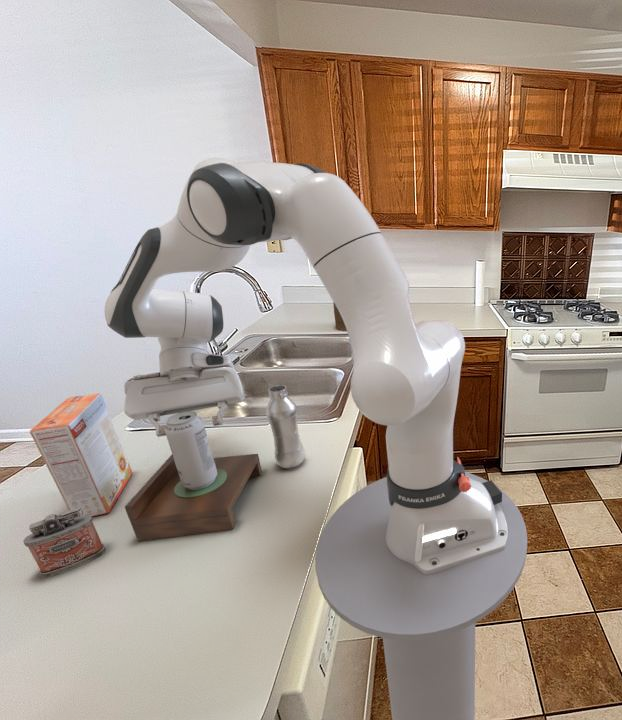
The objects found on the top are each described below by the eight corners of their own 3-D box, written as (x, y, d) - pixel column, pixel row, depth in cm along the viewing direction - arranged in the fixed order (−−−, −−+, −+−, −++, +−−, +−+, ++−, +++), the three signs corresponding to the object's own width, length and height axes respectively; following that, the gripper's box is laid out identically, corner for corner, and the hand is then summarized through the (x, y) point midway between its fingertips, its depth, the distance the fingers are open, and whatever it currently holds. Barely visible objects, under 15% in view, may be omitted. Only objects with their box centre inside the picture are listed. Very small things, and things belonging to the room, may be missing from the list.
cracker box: (100, 479, 89) (66, 396, 81) (134, 473, 91) (103, 391, 83) (70, 523, 77) (26, 429, 69) (109, 514, 79) (71, 423, 71)
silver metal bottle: (296, 452, 99) (282, 379, 92) (312, 462, 96) (299, 387, 88) (271, 465, 94) (254, 389, 87) (286, 475, 91) (270, 397, 83)
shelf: (262, 471, 92) (255, 442, 89) (233, 529, 76) (223, 495, 73) (185, 479, 89) (176, 449, 86) (137, 541, 73) (124, 507, 70)
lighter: (40, 581, 65) (14, 534, 61) (42, 568, 67) (18, 522, 64) (106, 555, 70) (85, 510, 66) (106, 543, 72) (86, 499, 69)
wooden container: (369, 328, 200) (365, 284, 192) (339, 332, 193) (333, 287, 185) (362, 321, 212) (357, 280, 204) (333, 324, 205) (327, 282, 197)
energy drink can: (188, 475, 82) (169, 412, 77) (221, 470, 84) (204, 407, 79) (178, 494, 77) (156, 427, 72) (214, 488, 79) (195, 422, 73)
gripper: (117, 371, 78) (118, 438, 73) (237, 355, 87) (244, 414, 82) (130, 383, 83) (132, 446, 79) (242, 367, 92) (249, 423, 87)
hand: (190, 430), depth 80 cm, fingers open, 8 cm apart
